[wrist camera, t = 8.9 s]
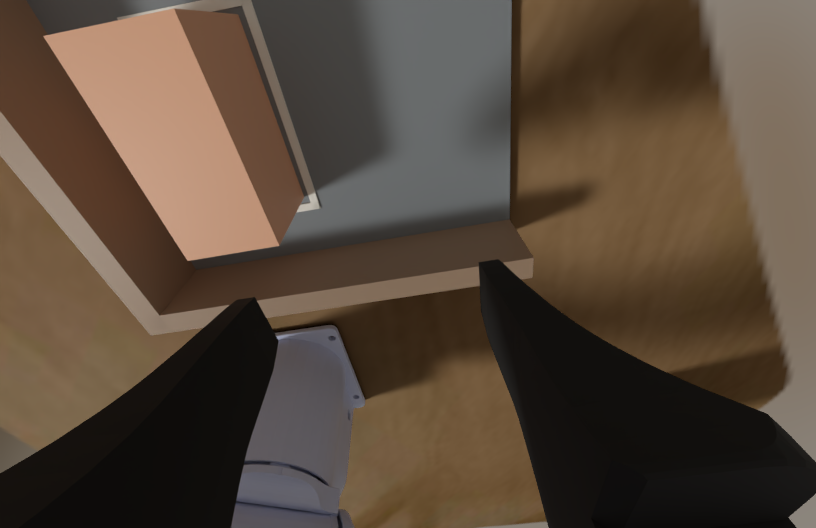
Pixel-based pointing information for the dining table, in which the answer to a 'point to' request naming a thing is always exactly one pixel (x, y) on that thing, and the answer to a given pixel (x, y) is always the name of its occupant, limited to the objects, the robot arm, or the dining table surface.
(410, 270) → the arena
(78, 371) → the dining table surface
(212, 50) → the terracotta block
